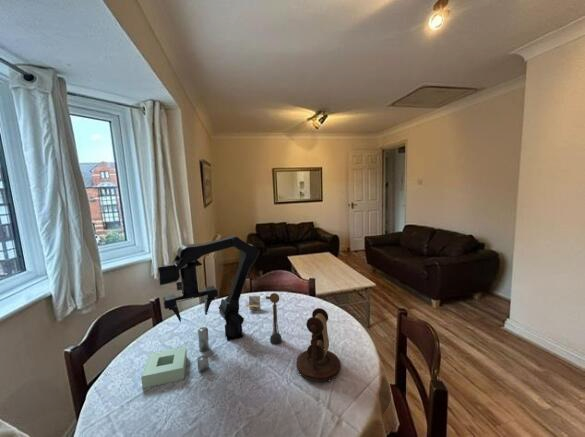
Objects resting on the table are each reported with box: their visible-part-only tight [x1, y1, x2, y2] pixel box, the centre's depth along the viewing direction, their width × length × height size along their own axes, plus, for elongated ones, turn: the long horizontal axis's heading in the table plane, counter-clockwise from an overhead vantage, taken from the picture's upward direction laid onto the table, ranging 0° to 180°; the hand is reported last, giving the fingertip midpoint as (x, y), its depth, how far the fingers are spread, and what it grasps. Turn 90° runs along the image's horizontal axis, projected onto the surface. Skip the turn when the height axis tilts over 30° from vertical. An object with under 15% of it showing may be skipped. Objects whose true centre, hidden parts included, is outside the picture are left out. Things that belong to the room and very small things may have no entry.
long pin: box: [197, 326, 210, 353], centre depth 101 cm, size 4×4×8 cm
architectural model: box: [244, 295, 261, 311], centre depth 132 cm, size 3×7×7 cm, turn 87°
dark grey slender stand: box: [265, 292, 283, 346], centre depth 104 cm, size 6×5×20 cm
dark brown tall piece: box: [295, 307, 342, 382], centre depth 87 cm, size 15×15×20 cm
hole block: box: [141, 346, 188, 389], centre depth 89 cm, size 12×12×4 cm
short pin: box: [196, 354, 210, 374], centre depth 90 cm, size 4×4×4 cm
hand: (193, 317), depth 100 cm, fingers open, 9 cm apart
